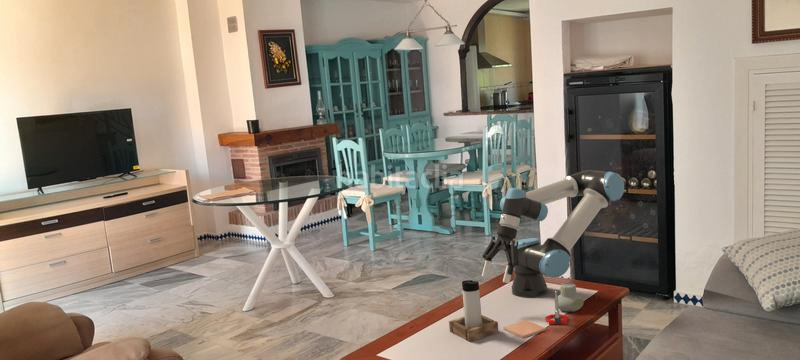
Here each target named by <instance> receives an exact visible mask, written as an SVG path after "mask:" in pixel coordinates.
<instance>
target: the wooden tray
mask: <svg viewBox="0 0 800 360" xmlns="http://www.w3.org/2000/svg"><path fill="white" fill-rule="evenodd" d="M481 317H482V325H481V326H478V327H475V328H472V329H469V328H467V327H465V316H462V317H459V318H456V319H453V320H449V321H448V326H449V332H450V333H453V335H455V336H458V337H460V338H462V339H463V340H465V341H467V342H469V343H470V342H474V341H476V340H481V339H483V338H486V337H490V336H492V335H495V334H498V333H499V322H498V321H497V320H494V319H492V318H489V317H487V316H485V315H483V314H481Z"/></svg>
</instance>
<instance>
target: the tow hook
mask: <svg viewBox="0 0 800 360" xmlns="http://www.w3.org/2000/svg"><path fill="white" fill-rule="evenodd" d="M558 296H559V295H558V290H554V309H555V310H554V314H553V313H552V314H548V315H546V316H545V321H546V322H548V324H549V325H567V324H568V321H569V316H567V315H565V314H560V309H559V308H558ZM552 318H554V319H552Z"/></svg>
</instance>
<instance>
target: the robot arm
mask: <svg viewBox="0 0 800 360" xmlns="http://www.w3.org/2000/svg"><path fill="white" fill-rule="evenodd" d="M624 191H625V183H624V180H623V178H622V176H621V175H620V174H618V173H617V172H613V171H602V170H593V169H590V170H589V169H587V170H582V171H580V172H579V171H578V172H576V173H574V174H573V173H572V174H570V175H567V176H565V177H564V178H563V180H562V179H561V180H558V181H556V182H553V183H550V184H547V185H544V186H541V187H539V188H535V189H532V190H529V191H526V190H524V189H521V188H517V187H509V188H507V191H506V194H505V196H503V197H502V198H501V200H500V202H499V208H500V210H501V215H500V220H499V225H498V226H497V230H496V235H497V236H492V237H491V240H490V243H489V244H488V245H487V247H486V249H485V250H484V252H483V253H482V256H481V258H483V259H484V263H483V269H482V272H481V273H482V274H481V277H483V278H486V279H488V278H489V275H490V271H491V267H492V262H493V261H492V260H493V259H494V258H495V256H497V254H498V253H499V252H500V251H504V253H505V256H506V259H507V264H506V267H505V271H504V275H503V279H502V282H503V283H506V284H510V282H511V278H512V276H513V273H514V277H513V280H512V285H511V294H513V295H514V296H518V297H521V298H533V297H534V298H535V297H540V296H543V295H545V294H547V293H548V284H547V282H546V280H545V277H548V278H560V277H561V276H564V275H565V273H567V272H568V270H569V268H570V265H571V264H570V263H571V256H572V252H571V250H572V248H573V247H574V246H575V244H576V243H577V241H578V240H579V239H580V238H581V236H582V235H583V234H584V232H585V231H586V229H587V228H588V226H590V224H591V222H592V221H593V220H594V219H595V217H596V216H597V215H598V213H599V212H600V210H601V209H603V208H605V209H606V208H607V207H608V206H609V205H610V204H611V202H612V201H619V200H620V199H621V198H622V196H623V195H624V193H625V192H624ZM581 196H582V198H581V200H580V201H579V202H578V204H577V205H576V206H575V208H574V209H573V210H572V211H571V213H570V214H569V215H568V217H567V218H566V220H565V221H564V222H563V224H562V225H561V226H560V227H559V228H558V230H557V232H556V233H555V234H554V235H553V237H548V238H546V240H545V241H544V242H543V244H541V240H540V238H537V237H530V238H529V237H528V238H522V239H517V240H515V239H516V238H517V234H518V230H517V229H519V225H520V223H521V222H520V221H521V218H526V219H531V220H533V221H537V222H543V221H544V220H545V219H546V218H547V217H548V213H549V208H548V206H547V204H551V203H553V202H556V201H559V200H562V199H565V198H568V197H570V198H575V197H581ZM544 276H545V277H544Z"/></svg>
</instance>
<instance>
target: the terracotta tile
mask: <svg viewBox="0 0 800 360" xmlns="http://www.w3.org/2000/svg"><path fill="white" fill-rule="evenodd" d="M502 330H503V331H505V332H508V333H510V334H513V335H515V336H517V337H519V338H521V339H525V338H528V337H530V336H533V335H536V334H539V333H542V332H545V331H547V328H546V327H544V326H542V325H539V324H537V323H535V322H533V321H529V320H527V319H524V320H521V321H518V322H516V323H515V322H514V323H513V324H510V325H507V326H504V327H503V328H502Z"/></svg>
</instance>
